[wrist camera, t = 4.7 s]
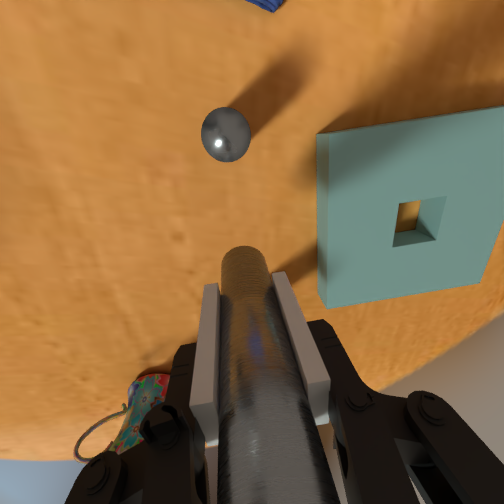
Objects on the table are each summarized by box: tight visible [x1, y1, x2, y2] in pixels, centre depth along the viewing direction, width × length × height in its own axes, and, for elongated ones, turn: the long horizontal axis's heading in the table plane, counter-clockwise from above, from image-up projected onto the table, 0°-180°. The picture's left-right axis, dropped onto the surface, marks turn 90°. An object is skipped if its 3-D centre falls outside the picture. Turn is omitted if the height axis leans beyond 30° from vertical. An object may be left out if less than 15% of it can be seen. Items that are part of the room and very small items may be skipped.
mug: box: [73, 374, 170, 464], centre depth 30 cm, size 12×9×11 cm
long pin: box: [217, 246, 341, 504], centre depth 10 cm, size 3×3×16 cm
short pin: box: [201, 107, 251, 162], centre depth 18 cm, size 3×3×6 cm
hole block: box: [316, 105, 504, 309], centre depth 24 cm, size 18×18×3 cm
